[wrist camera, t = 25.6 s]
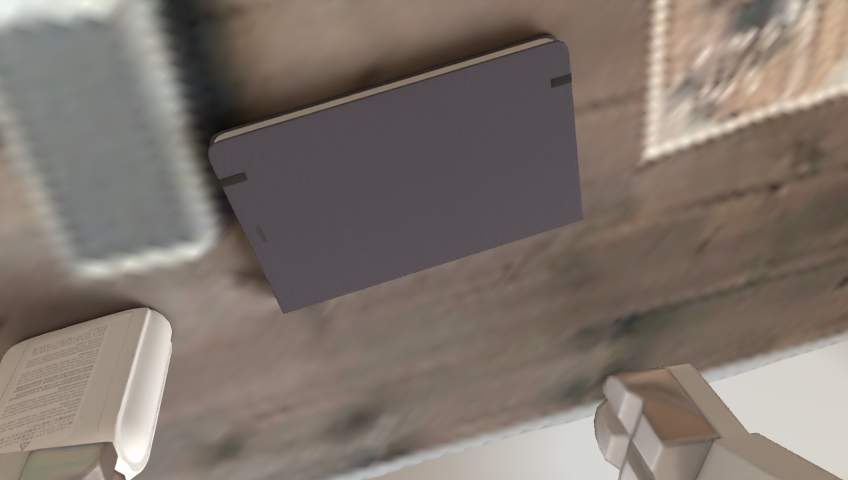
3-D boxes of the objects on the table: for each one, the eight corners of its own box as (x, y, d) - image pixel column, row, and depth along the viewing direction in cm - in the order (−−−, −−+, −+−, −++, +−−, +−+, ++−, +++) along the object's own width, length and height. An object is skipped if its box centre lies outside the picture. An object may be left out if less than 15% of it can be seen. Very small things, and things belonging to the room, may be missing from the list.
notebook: (282, 300, 41) (574, 208, 42) (283, 314, 40) (583, 220, 41) (204, 135, 34) (557, 30, 35) (201, 146, 33) (568, 37, 34)
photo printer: (36, 387, 41) (-42, 564, 31) (-3, 342, 39) (-101, 519, 28) (183, 341, 42) (156, 500, 31) (155, 295, 39) (114, 452, 29)
